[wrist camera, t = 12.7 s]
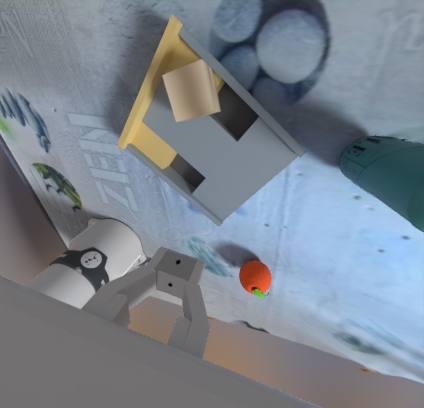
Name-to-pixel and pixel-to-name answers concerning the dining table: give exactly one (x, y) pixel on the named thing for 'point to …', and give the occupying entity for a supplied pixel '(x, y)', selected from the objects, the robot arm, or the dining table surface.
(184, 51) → the tray
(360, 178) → the beverage bottle
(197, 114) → the cube
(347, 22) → the dining table surface
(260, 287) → the clementine
